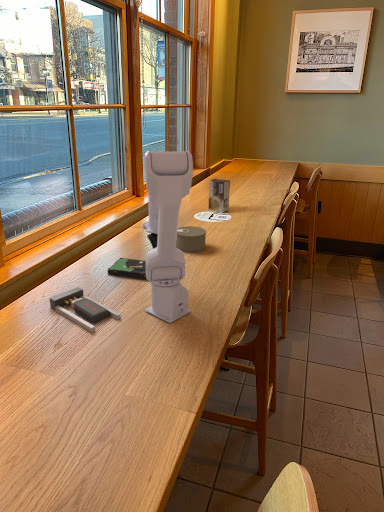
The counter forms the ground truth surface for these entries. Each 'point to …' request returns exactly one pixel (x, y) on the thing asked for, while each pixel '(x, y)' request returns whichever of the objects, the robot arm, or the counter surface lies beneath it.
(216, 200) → the coffee box
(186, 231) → the can
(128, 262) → the disk drive
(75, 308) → the usb drive
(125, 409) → the counter surface
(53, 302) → the dock
